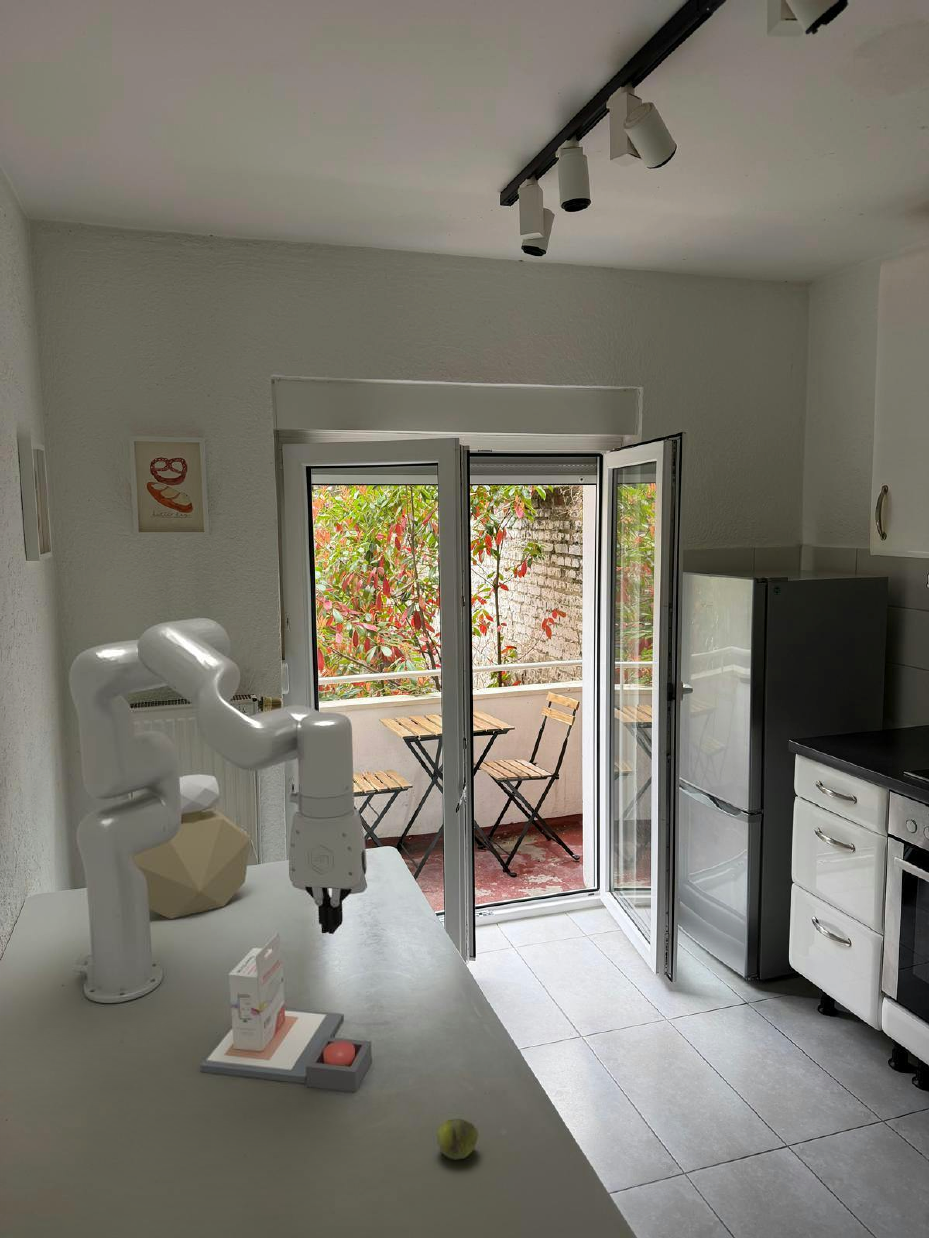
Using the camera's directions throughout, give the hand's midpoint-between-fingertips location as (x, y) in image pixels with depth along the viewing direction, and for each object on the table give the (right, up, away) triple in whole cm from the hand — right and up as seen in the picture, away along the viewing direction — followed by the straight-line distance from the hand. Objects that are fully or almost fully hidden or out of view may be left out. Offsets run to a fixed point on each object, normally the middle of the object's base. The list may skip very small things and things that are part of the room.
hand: (331, 928), depth 123 cm
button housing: (+1, -21, +1) cm, 21 cm away
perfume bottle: (-37, -16, +57) cm, 69 cm away
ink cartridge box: (-12, -19, +9) cm, 25 cm away
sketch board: (-10, -20, +9) cm, 24 cm away
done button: (+1, -21, +1) cm, 21 cm away
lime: (+18, -23, -15) cm, 33 cm away
